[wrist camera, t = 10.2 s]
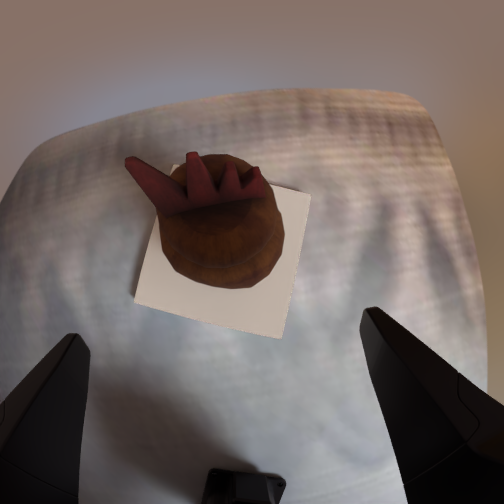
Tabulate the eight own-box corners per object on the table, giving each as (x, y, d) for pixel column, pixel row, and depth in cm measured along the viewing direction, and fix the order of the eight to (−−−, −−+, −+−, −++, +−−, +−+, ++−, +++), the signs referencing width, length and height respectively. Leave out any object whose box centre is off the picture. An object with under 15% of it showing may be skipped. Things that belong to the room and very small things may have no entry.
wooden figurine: (171, 279, 21) (50, 236, 6) (188, 203, 22) (124, 58, 7) (264, 298, 21) (326, 293, 6) (278, 220, 22) (346, 87, 7)
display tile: (279, 337, 22) (281, 339, 21) (137, 302, 22) (133, 302, 21) (308, 199, 24) (311, 194, 23) (175, 169, 23) (173, 164, 22)
